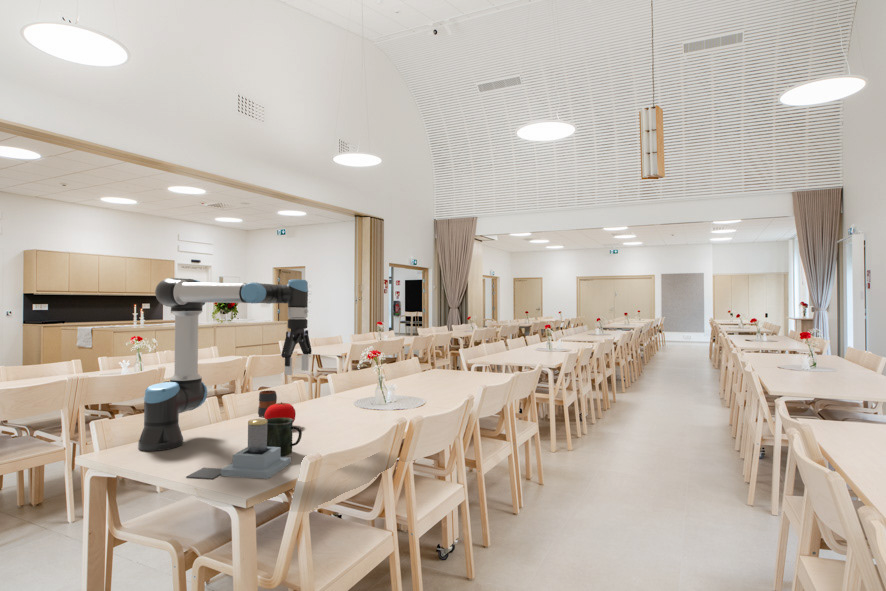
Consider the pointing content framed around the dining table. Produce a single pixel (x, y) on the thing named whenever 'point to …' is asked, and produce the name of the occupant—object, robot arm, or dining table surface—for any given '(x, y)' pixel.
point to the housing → (256, 464)
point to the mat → (206, 473)
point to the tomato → (280, 411)
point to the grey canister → (257, 436)
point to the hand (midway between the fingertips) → (296, 372)
